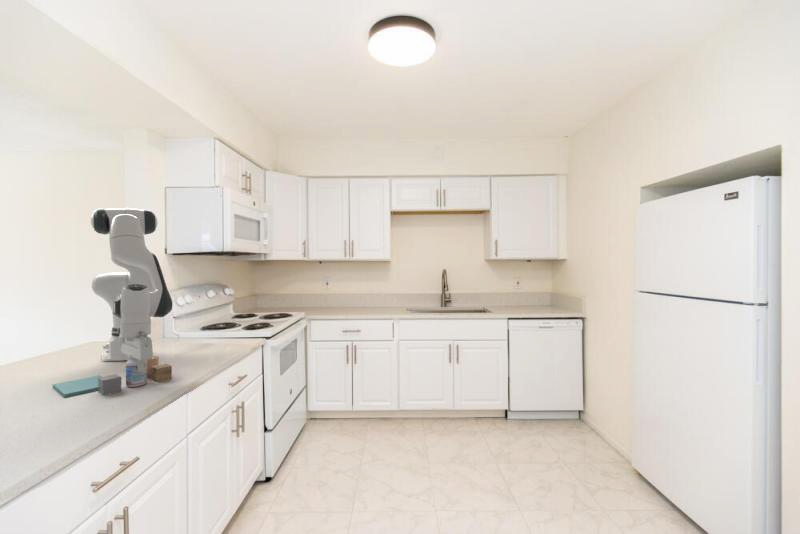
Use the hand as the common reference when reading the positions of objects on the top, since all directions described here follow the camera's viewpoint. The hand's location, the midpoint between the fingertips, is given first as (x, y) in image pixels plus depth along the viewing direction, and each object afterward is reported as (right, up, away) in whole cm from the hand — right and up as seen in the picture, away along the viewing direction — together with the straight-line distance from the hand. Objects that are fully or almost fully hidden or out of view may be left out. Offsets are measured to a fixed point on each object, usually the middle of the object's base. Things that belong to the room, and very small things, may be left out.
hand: (136, 368), depth 130 cm
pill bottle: (0, -6, 0) cm, 6 cm away
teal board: (-17, -6, -2) cm, 18 cm away
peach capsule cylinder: (-1, -6, +10) cm, 11 cm away
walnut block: (+5, -6, +6) cm, 10 cm away
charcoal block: (-4, -6, -7) cm, 10 cm away
